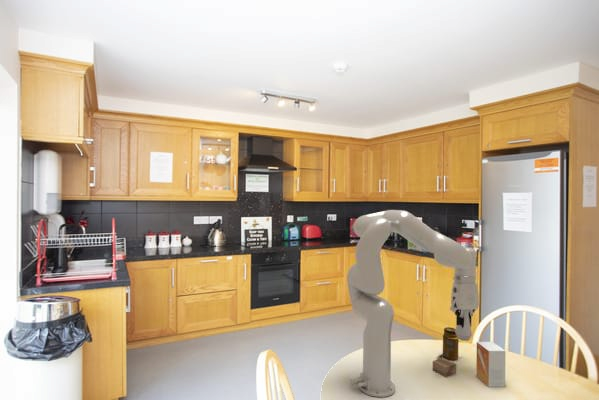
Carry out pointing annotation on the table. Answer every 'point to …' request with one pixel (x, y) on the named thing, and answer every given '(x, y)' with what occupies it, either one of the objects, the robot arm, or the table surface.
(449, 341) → the condiment
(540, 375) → the table surface
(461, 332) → the salt shaker
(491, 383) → the small box
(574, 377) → the table surface
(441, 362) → the walnut block
